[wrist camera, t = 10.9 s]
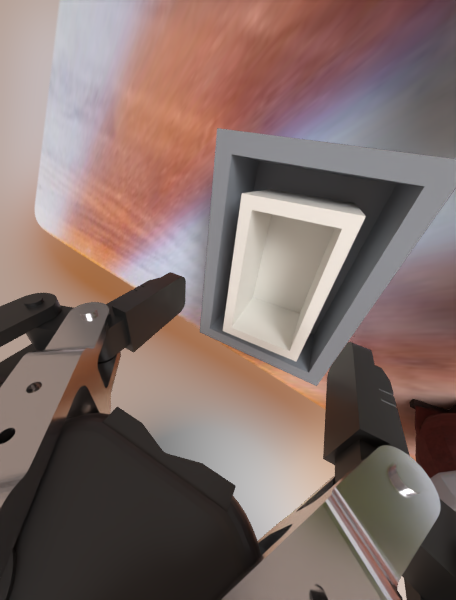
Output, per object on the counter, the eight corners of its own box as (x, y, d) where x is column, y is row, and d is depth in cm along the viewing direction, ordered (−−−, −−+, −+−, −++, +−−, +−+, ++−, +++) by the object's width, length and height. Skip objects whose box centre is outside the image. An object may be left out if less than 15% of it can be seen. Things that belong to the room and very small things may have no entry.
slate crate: (226, 302, 24) (199, 332, 19) (253, 144, 15) (217, 128, 11) (321, 339, 21) (316, 386, 16) (421, 168, 12) (474, 161, 8)
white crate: (247, 297, 21) (222, 330, 16) (270, 189, 15) (241, 193, 11) (306, 317, 19) (296, 361, 14) (355, 203, 13) (365, 216, 9)
